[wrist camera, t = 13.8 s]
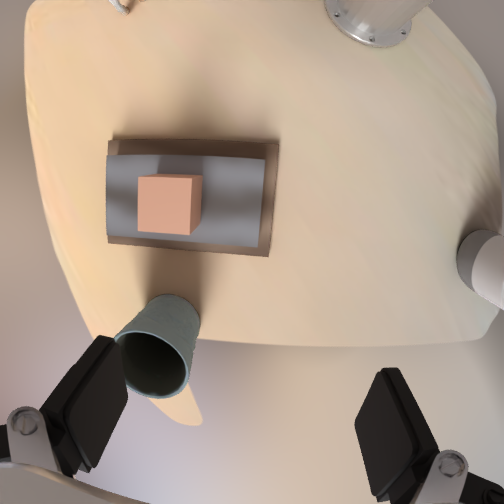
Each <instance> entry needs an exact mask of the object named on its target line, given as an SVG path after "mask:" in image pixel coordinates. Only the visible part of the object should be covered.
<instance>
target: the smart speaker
mask: <svg viewBox="0 0 504 504" xmlns="http://www.w3.org/2000/svg"><path fill="white" fill-rule="evenodd" d="M457 269H458V273H459V275H460V277H461V279H462V281H463V282H464V283H465V284H466V285H467V286H468V287H469V288H470V289H471V290H473V291H474V292H476V293H477V294H478V295H480V296H482V297H483V298H485V299H487V300H488V301H490V302H492V303H493V304H495V305H496V306H498V307H500V308H501V309H503V310H504V236H502V235H500V234H498V233H496V232H493V231H490V230H477V231H474V232H472V233H471V234H469V235H468V236H467V237H466V238H465V239H464V241H463V242H462V244H461V246H460V248H459V251H458V255H457Z"/></svg>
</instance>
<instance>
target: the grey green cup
mask: <svg viewBox="0 0 504 504" xmlns="http://www.w3.org/2000/svg"><path fill="white" fill-rule="evenodd" d="M199 329H200V320H199V316H198V314H197V312H196V310H195V308H194V307H193V306H192V305H191V304H190V303H189V302H188V301H187V300H185V299H183V298H181V297H179V296H176V295H171V294H164V295H160V296H157V297H155V298H153V299H152V300H151V301H150V302H149V303H148V304H147V305H146V307H145V308H144V309H143V310H142V311H141V312H139V313H138V315H137V316H136V317H135V318H134V319H133V320H132V321H131V322H129V323H128V324H127V325H126V326H125V327H124V328H123V329H122V330H121V331H120V332H119V333H118V334H117V335H116V336H115V337H114V339H115V342H116V343H118V344H119V347H120V353H121V360H122V366H123V371H124V377H125V382H126V387H128V388H129V389H131V390H132V391H135V392H136V393H138V394H140V395H143V396H146V397H150V398H156V399H163V398H169V397H173V396H175V395H177V394H179V393H180V392H181V391H182V390H183V389H184V388H185V386H186V384H187V382H188V379H189V374H190V369H191V364H192V358H193V351H194V349H195V343H196V338H197V336H198V334H199Z"/></svg>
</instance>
